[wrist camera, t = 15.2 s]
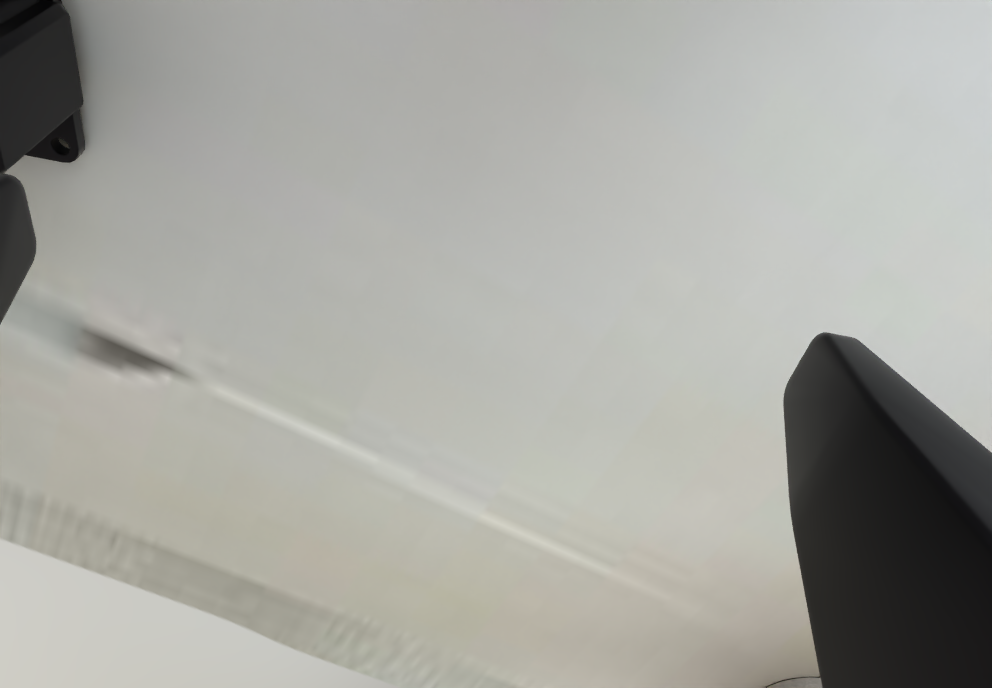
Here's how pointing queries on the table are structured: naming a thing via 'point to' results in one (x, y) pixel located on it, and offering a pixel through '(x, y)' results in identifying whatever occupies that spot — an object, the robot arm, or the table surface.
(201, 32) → the table surface
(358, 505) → the table surface
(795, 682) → the house plant
